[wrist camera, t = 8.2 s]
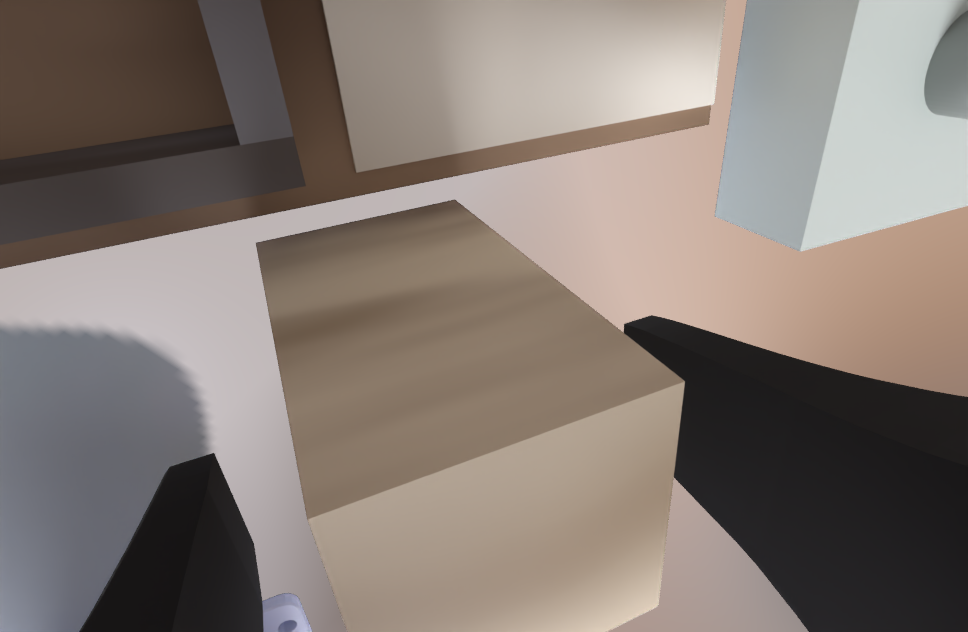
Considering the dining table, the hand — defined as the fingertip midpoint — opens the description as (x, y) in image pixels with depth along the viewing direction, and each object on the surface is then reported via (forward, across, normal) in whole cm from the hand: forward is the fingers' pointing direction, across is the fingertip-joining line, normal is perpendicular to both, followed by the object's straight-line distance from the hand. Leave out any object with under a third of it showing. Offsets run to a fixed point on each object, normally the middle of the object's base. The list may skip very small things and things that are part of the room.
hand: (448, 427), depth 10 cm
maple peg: (+5, 0, 0) cm, 5 cm away
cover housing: (+5, -14, -4) cm, 16 cm away
